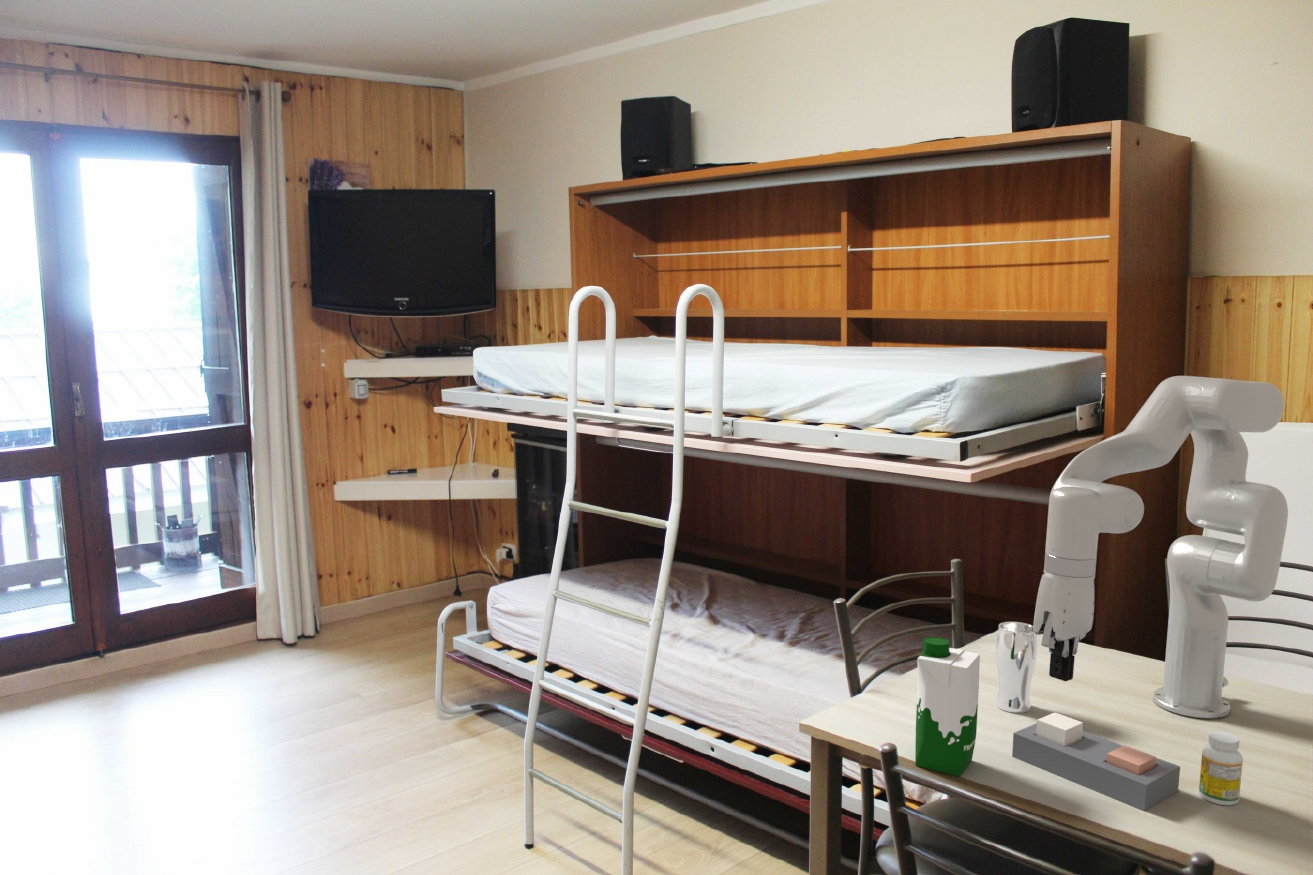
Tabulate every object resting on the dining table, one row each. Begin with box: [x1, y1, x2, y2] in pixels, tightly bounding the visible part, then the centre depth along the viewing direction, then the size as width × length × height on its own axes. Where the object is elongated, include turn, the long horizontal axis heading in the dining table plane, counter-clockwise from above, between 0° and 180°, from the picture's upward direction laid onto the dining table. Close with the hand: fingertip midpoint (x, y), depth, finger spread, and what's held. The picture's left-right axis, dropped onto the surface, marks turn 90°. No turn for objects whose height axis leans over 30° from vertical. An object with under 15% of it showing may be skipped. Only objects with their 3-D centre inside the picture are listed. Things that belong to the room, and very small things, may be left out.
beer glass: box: [995, 621, 1038, 714], centre depth 187 cm, size 7×7×15 cm
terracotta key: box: [1106, 744, 1157, 776], centre depth 156 cm, size 5×5×4 cm
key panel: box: [1011, 722, 1181, 812], centre depth 161 cm, size 10×22×4 cm, turn 37°
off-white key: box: [1036, 712, 1084, 747], centre depth 166 cm, size 5×5×4 cm
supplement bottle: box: [1198, 730, 1244, 806], centre depth 154 cm, size 5×5×10 cm
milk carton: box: [914, 636, 981, 778], centre depth 163 cm, size 9×9×20 cm
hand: (1060, 677), depth 164 cm, fingers closed
